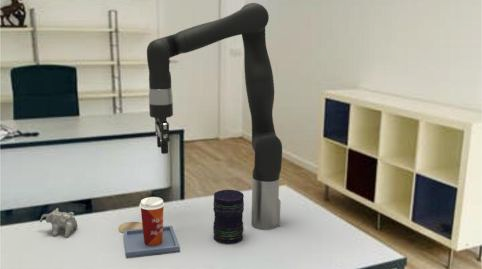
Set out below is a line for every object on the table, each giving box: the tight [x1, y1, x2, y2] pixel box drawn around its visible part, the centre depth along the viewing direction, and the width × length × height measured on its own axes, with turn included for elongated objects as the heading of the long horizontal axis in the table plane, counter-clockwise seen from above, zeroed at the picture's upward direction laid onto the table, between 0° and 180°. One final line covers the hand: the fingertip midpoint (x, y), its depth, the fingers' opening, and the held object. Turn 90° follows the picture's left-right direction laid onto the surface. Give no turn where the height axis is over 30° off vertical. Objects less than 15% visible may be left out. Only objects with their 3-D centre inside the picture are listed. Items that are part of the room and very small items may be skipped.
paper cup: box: [139, 196, 165, 246], centre depth 150 cm, size 8×8×14 cm
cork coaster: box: [117, 221, 143, 234], centre depth 163 cm, size 9×9×1 cm
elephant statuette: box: [39, 207, 79, 238], centre depth 158 cm, size 9×12×8 cm
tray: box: [123, 225, 181, 259], centre depth 152 cm, size 16×16×2 cm
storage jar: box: [212, 189, 245, 245], centre depth 156 cm, size 10×10×15 cm
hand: (162, 150), depth 159 cm, fingers open, 8 cm apart
